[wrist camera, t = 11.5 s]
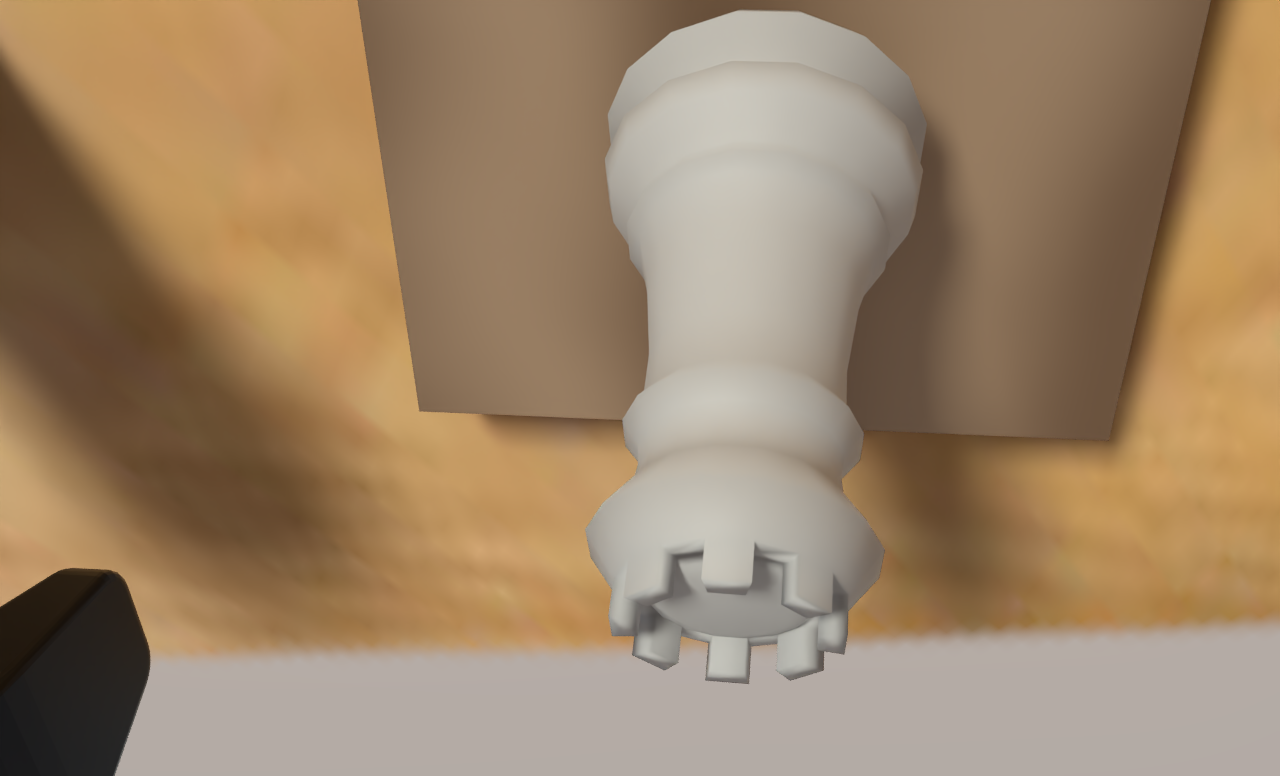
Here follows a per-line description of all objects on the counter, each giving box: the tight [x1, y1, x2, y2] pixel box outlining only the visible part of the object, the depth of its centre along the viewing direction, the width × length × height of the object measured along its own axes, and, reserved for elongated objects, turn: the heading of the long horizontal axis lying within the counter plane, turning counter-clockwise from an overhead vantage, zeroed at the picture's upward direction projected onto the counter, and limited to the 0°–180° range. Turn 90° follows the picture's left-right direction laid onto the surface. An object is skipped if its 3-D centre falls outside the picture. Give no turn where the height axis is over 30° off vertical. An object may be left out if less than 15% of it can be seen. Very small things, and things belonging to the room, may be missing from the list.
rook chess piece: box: [585, 9, 927, 684], centre depth 15 cm, size 4×4×8 cm
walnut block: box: [358, 0, 1211, 441], centre depth 19 cm, size 12×12×2 cm
